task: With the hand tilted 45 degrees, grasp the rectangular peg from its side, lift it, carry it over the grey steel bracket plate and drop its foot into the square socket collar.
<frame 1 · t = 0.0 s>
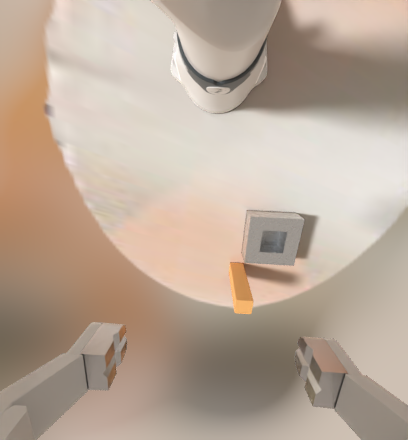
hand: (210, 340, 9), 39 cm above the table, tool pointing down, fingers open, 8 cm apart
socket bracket: (267, 233, 49), on the table
rectangular peg: (235, 268, 52), on the table
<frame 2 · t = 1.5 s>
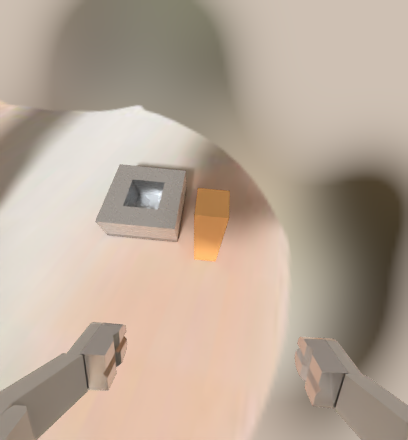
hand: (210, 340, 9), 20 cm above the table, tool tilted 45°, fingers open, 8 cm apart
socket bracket: (150, 209, 35), on the table
rectangular peg: (205, 250, 32), on the table
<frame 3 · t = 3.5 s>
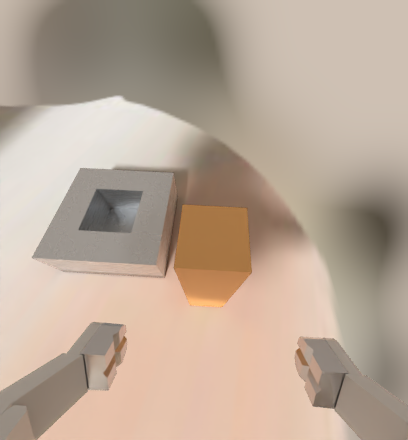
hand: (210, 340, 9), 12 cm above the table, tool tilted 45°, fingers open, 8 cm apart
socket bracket: (127, 229, 25), on the table
rectangular peg: (206, 289, 21), on the table
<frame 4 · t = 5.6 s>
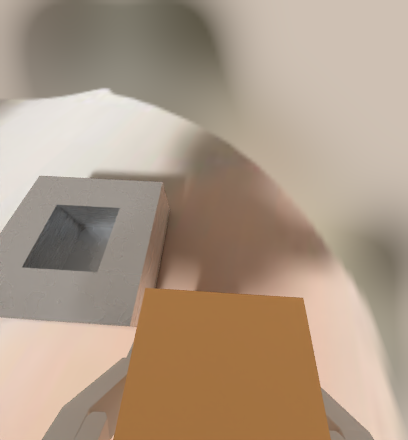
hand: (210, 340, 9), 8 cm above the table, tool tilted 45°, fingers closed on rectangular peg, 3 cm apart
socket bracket: (102, 255, 19), on the table
rectangular peg: (206, 346, 15), on the table, touching gripper
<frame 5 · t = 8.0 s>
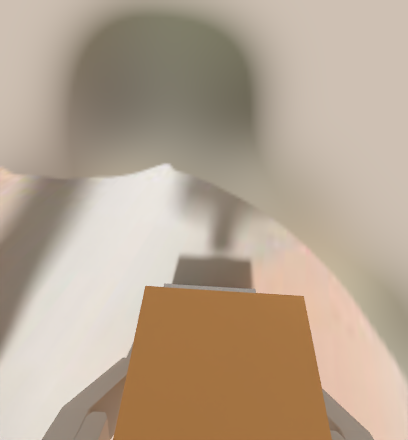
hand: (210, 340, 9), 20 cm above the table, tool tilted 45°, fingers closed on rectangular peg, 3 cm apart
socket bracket: (206, 338, 26), on the table
rectangular peg: (206, 345, 15), point 12 cm above the table, touching gripper
when the fingers open (10 cm above the table, at t = 10.7 s): rectangular peg drops 2 cm, resting on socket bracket.
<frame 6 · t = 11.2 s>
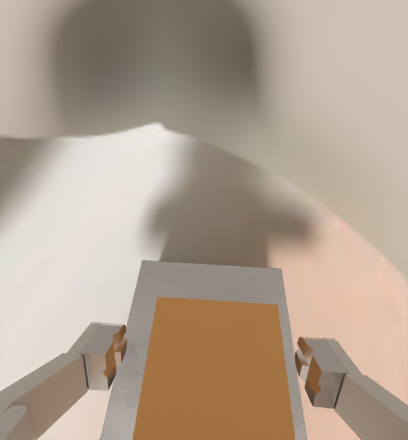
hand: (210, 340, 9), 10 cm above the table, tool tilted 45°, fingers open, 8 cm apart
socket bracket: (206, 344, 17), on the table
rectangular peg: (206, 344, 17), point 1 cm above the table, touching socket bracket
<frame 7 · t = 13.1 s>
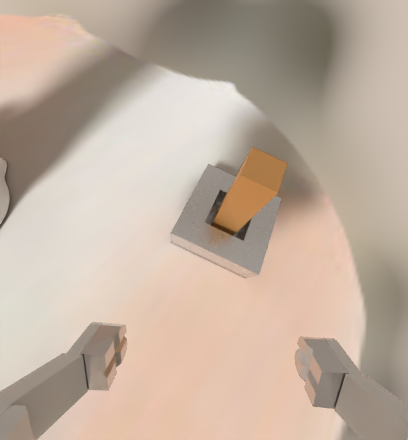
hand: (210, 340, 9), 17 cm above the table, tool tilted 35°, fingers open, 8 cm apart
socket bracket: (222, 225, 30), on the table
rectangular peg: (223, 223, 29), point 1 cm above the table, touching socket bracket
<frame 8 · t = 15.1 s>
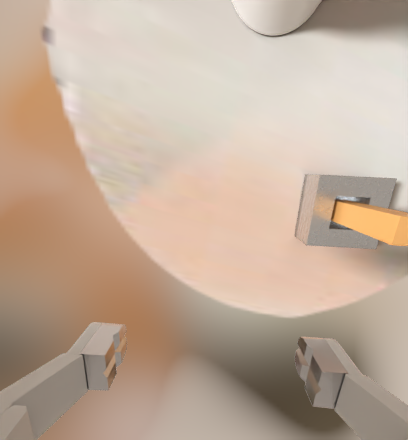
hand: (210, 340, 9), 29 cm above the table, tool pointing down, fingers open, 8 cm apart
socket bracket: (331, 208, 36), on the table
rectangular peg: (334, 208, 35), point 1 cm above the table, touching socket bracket
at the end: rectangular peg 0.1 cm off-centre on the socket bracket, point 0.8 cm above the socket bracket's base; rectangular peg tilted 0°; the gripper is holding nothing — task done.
